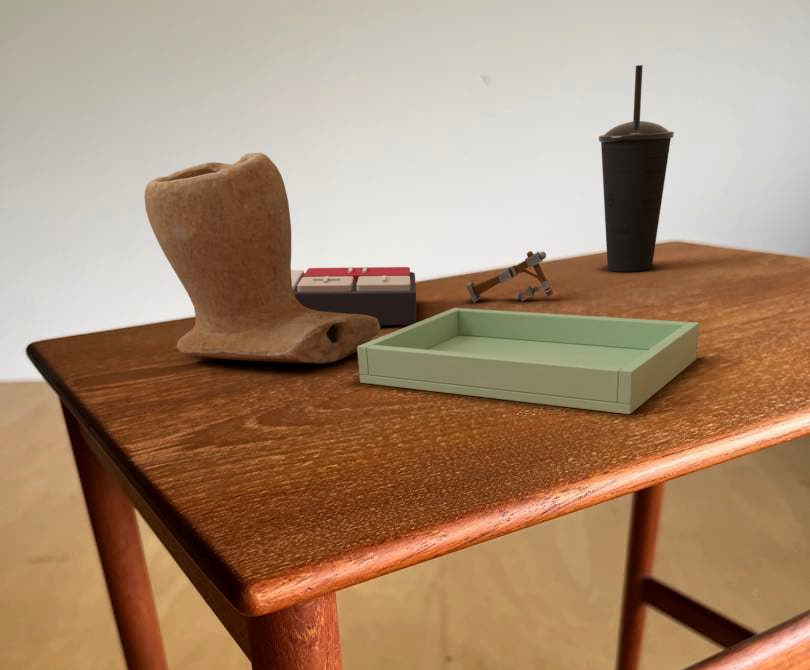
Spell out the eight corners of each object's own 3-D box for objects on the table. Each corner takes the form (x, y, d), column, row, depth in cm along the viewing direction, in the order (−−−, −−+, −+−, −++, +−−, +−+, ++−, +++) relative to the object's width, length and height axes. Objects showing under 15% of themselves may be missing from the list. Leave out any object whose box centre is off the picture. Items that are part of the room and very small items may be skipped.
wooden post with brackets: (560, 291, 83) (540, 246, 82) (484, 326, 86) (464, 283, 85) (562, 288, 85) (543, 243, 83) (488, 322, 88) (468, 280, 87)
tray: (696, 359, 62) (699, 322, 61) (629, 414, 52) (632, 371, 51) (455, 339, 72) (454, 307, 71) (359, 382, 62) (356, 346, 61)
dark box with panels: (416, 282, 76) (243, 284, 76) (416, 332, 78) (247, 334, 78) (414, 263, 86) (261, 265, 86) (415, 308, 88) (265, 309, 88)
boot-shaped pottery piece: (141, 371, 69) (101, 163, 62) (242, 337, 78) (216, 152, 71) (293, 389, 61) (266, 156, 55) (385, 349, 70) (371, 144, 64)
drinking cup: (628, 260, 103) (637, 67, 94) (679, 266, 97) (694, 61, 88) (580, 269, 99) (585, 69, 91) (630, 276, 93) (640, 63, 85)
